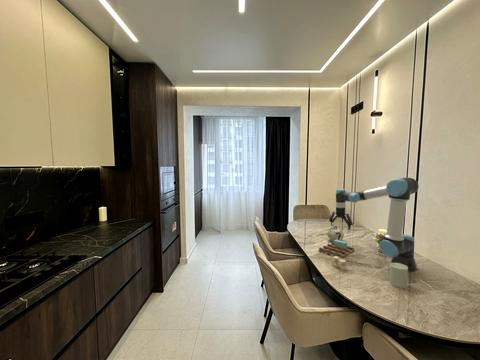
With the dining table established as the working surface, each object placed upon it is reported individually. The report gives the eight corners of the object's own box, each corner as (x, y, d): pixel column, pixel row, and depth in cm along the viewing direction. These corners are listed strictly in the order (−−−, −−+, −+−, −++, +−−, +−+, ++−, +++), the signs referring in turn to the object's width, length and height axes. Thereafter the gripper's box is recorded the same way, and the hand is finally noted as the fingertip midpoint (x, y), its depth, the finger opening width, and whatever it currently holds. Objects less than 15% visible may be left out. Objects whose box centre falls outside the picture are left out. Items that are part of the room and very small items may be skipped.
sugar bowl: (348, 244, 208) (348, 228, 208) (332, 244, 208) (332, 228, 207) (338, 237, 228) (338, 222, 227) (323, 237, 228) (324, 223, 227)
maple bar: (346, 269, 158) (346, 261, 158) (341, 270, 157) (342, 262, 157) (336, 263, 168) (336, 255, 168) (331, 264, 167) (331, 256, 166)
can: (390, 278, 144) (390, 260, 143) (408, 283, 138) (408, 264, 137) (388, 284, 137) (389, 265, 136) (407, 289, 131) (407, 269, 130)
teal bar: (347, 249, 193) (347, 242, 193) (344, 250, 191) (344, 243, 190) (336, 246, 201) (336, 239, 201) (333, 247, 199) (333, 240, 198)
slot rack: (354, 250, 192) (354, 247, 191) (341, 258, 177) (341, 254, 176) (332, 244, 207) (332, 241, 207) (318, 251, 192) (318, 248, 192)
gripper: (357, 208, 185) (357, 233, 186) (329, 204, 204) (329, 227, 206) (353, 209, 180) (352, 235, 181) (325, 205, 200) (325, 229, 201)
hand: (340, 231), depth 193 cm, fingers open, 13 cm apart
